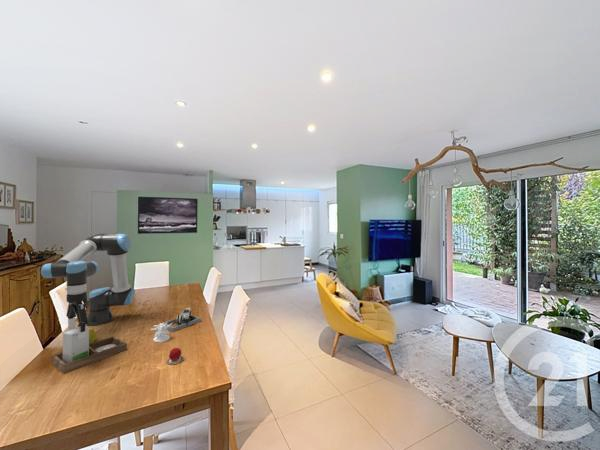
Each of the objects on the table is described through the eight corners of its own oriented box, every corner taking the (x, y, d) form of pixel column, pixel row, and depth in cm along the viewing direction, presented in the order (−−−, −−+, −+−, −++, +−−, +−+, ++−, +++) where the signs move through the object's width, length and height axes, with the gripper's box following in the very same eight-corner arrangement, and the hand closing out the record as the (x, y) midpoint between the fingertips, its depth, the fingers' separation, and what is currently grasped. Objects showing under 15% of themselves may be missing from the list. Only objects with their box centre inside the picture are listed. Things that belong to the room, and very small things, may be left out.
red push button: (172, 366, 122) (172, 353, 122) (163, 362, 126) (163, 349, 126) (186, 359, 129) (187, 347, 129) (177, 355, 133) (178, 343, 133)
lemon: (93, 346, 141) (93, 332, 141) (75, 349, 137) (76, 335, 137) (99, 338, 151) (99, 325, 150) (82, 340, 147) (83, 327, 147)
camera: (178, 318, 182) (179, 305, 182) (191, 317, 185) (192, 304, 184) (175, 328, 167) (176, 313, 167) (189, 326, 170) (190, 312, 169)
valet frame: (160, 327, 168) (160, 323, 168) (188, 317, 186) (188, 314, 186) (172, 332, 161) (172, 328, 161) (200, 321, 178) (200, 318, 178)
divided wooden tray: (52, 364, 122) (52, 355, 122) (113, 343, 144) (113, 335, 144) (63, 375, 114) (63, 365, 114) (126, 351, 136) (126, 343, 136)
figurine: (172, 334, 157) (172, 318, 157) (172, 340, 149) (172, 323, 149) (150, 338, 152) (150, 321, 152) (149, 344, 144) (149, 326, 144)
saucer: (91, 351, 133) (91, 349, 133) (111, 344, 141) (111, 341, 141) (99, 357, 128) (99, 353, 128) (120, 349, 136) (120, 346, 136)
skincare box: (70, 366, 119) (71, 334, 119) (61, 364, 121) (61, 332, 121) (89, 357, 127) (90, 327, 127) (80, 355, 129) (80, 326, 129)
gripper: (58, 290, 127) (58, 330, 128) (76, 299, 114) (76, 344, 115) (77, 286, 133) (77, 325, 134) (96, 295, 120) (96, 338, 121)
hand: (76, 334), depth 124 cm, fingers open, 13 cm apart
